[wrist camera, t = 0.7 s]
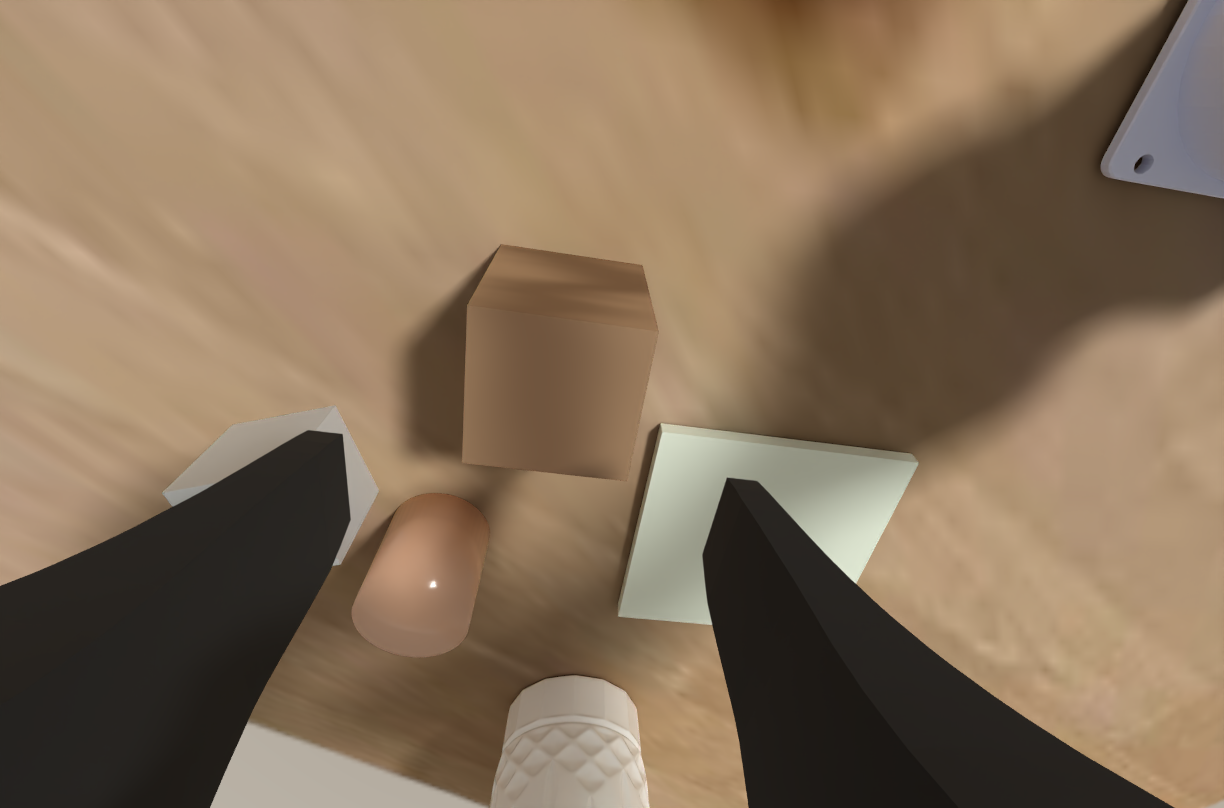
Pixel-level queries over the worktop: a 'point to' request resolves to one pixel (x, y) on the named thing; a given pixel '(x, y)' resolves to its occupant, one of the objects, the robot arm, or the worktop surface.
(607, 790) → the white cup
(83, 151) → the worktop surface
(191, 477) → the grey stone block
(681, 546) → the coaster
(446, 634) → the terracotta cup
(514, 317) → the walnut block
